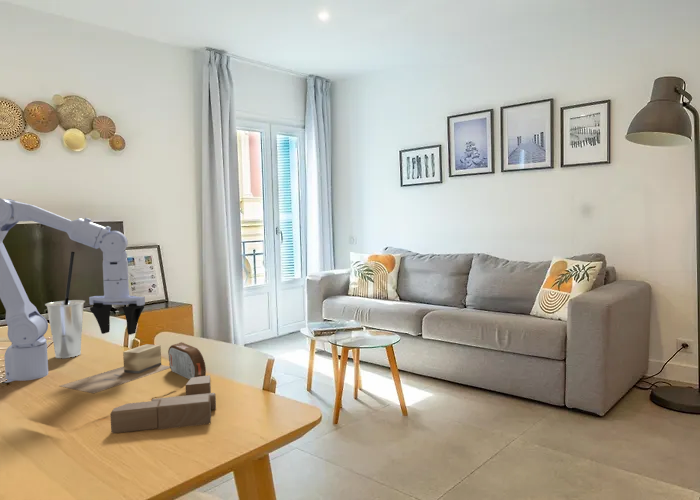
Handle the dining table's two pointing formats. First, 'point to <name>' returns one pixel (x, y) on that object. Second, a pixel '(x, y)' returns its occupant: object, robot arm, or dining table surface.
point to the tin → (186, 361)
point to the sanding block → (142, 358)
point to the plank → (110, 379)
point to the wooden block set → (168, 410)
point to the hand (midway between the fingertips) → (118, 333)
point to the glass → (66, 322)
